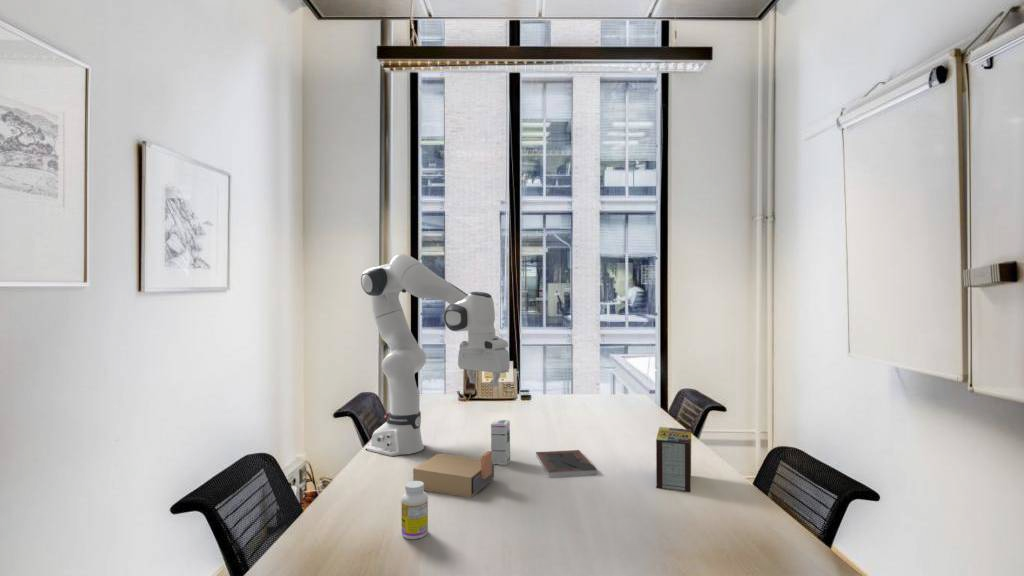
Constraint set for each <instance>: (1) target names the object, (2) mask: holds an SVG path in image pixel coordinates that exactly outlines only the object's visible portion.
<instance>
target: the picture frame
mask: <svg viewBox="0 0 1024 576" xmlns="http://www.w3.org/2000/svg"><path fill="white" fill-rule="evenodd" d="M535 458H536V459H537V461H538V460H539V461H538V462H539V463H540V465H541V468H543V470H544V472H545V474H546V475H547V478H562V477H563V478H564V476H565V477H578V476H579V477H580V476H582V477H583V476H597V475H598V470H597V468H596V467H595V466H594V465H593V464H592V463H591V462H590V460H589V459H588V458H587V457H586V456H585V455H584V454H583V453H582V451H581V450H580V449H573V450H572V449H571V450H570V449H569V450H552V451H535Z"/></svg>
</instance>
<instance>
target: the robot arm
mask: <svg viewBox="0 0 1024 576" xmlns="http://www.w3.org/2000/svg"><path fill="white" fill-rule="evenodd" d="M360 277H361V278H360V283H361V288H362V290H363V291H364V293H365V294H366V295H368V296H370V305H371V309H372V313H373V316H374V320H375V323H376V326H377V329H378V333H379V335H380V337H381V339H382V340H383V341H384V342H385V344H386V345H387V346H388V348H389V349H390V352H388V354H387V355H386V356H385V357H384V358H383V360H382V361H381V370H382V373H383V374H384V375H385V377H386V379H387V380H386V381H387V386H388V389H389V397H390V398H389V402H390V403H389V405H390V409H389V412H388V413H387V414H385V415H384V419H386V421H385V422H384V423H383V424H382V425H381V426H379V427H378V428H377V429H375V430H374V431H373V433H372V436H371V441H370V442H368V443H367V444H366V445H365V446H364V447H365V448H364V450H365V449H367V450H366V451H369V452H373V453H378V454H380V455H381V454H382V455H385V456H389V457H396V456H401V455H410V454H415V453H419V452H422V451H423V450H424V449H425V446H424V442H423V438H422V432H421V423H422V419H421V418H422V412H421V411H420V406H421V404H420V403H421V402H420V401H421V400H420V395H421V394H420V389H418V386H417V381H416V377H415V375H416V373H419V372H420V371H421V370H422V369H423V367H424V366H425V364H426V361H427V354H426V352H425V350H424V349H423V348H421V347H420V345H419V344H418V341H417V340H416V338H415V336H414V335H413V333H412V331H411V329H410V327H409V324H408V321H407V318H406V314H405V312H404V309H403V307H402V304H401V301H400V294H401V292H402V293H403V294H405V293H408V294H410V295H412V296H413V297H416V298H418V299H427V300H429V299H430V300H436V301H437V300H439V301H443V302H446V303H447V304H449V305H447V306H446V308H445V311H444V314H443V321H444V323H445V326H446V328H448V329H449V330H450V331H452V332H466V331H467V337H468V338H467V339H468V341H467V340H462V342H461V343H460V344H459V350H458V357H457V365H458V367H459V369H460V370H466V374H467V376H468V378H469V384H472V385H473V384H474V385H475V384H477V377H475V374H474V373H475V371H477V372H485V373H486V372H488V373H492V376H493V378H492V379H491V380H490V386H491V387H497V386H498V384H499V383H498V381H499V378H500V376H501V374H505V373H507V372H509V370H510V367H511V366H510V364H511V363H510V354H509V350H508V349H507V348H508V347H509V342H508V341H507V340H505V339H504V338H501V337H499V336H498V335H496V329H495V322H496V321H495V320H496V312H495V311H496V310H495V303H494V299H493V297H492V295H491V294H490V293H487V292H482V291H472V292H470V293H466V292H464V291H463V290H462V289H461V288H459V287H457V286H455V284H452V283H450V281H447V280H446V279H444V278H443V277H441V276H439V275H438V274H436V273H435V272H434V271H433V270H431V269H430V268H428V267H427V266H426V265H424V264H423V263H422V262H421V261H419V260H418V259H416V258H414V257H413V256H411V255H408V254H406V253H400V254H397V255H395V256H394V257H393V258H391V260H390V263H389V262H388V263H385V264H382V265H379V266H373V267H370V268H368V269H366V270H364V271H363V272H362V274H361V276H360Z"/></svg>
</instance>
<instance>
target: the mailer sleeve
mask: <svg viewBox="0 0 1024 576" xmlns="http://www.w3.org/2000/svg"><path fill="white" fill-rule="evenodd" d="M492 464H493V461H492ZM480 472H481V458H474V457H467V456H460V455H453V454H445V453H437V454H435V455H434V456H432V457H431V458H429V459H427V460H426V461H424V462H422V463H421V464H419V465H417V466H416V467H414V468H413V469H412V475H413V477H412V479H413V480H412V481H421V482H423V483H424V490H423V491H429V492H436V493H442V494H448V495H454V496H460V497H464V498H472V497H473V496H474V495H476V494H477V493H478V492H479V491H481V489H479V490H478V491H477V492H476V493H473V492H472V478H473V477H475V476H476V475H477V474H479V473H480ZM492 480H494V479H493V478H492V479H491V480H490V481H489V482H488V484H489V483H490V482H491V481H492ZM485 486H487V484H485V485H484V486H483V487H482V489H483V488H484V487H485Z"/></svg>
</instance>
